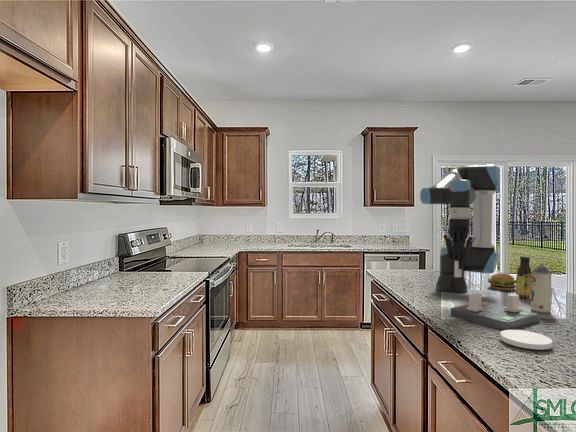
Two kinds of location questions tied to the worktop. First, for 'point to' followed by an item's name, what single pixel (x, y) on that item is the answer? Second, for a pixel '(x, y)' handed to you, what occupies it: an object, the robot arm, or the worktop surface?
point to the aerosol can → (541, 290)
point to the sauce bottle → (524, 278)
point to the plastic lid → (526, 339)
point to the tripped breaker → (475, 302)
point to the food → (502, 282)
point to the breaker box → (496, 316)
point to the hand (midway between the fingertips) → (457, 276)
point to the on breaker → (512, 303)
